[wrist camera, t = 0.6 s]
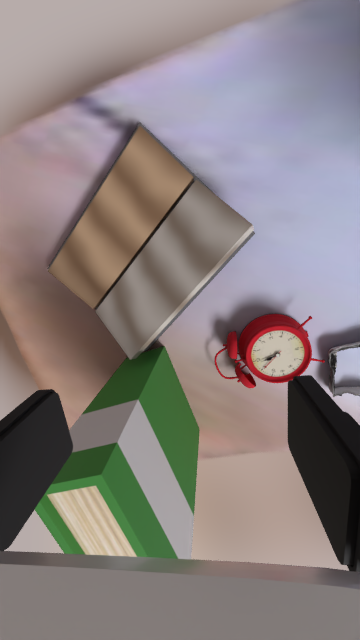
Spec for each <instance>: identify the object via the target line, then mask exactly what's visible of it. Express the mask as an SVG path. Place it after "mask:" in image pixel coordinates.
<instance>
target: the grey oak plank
mask: <svg viewBox="0 0 360 640" xmlns="http://www.w3.org/2000/svg"><path fill="white" fill-rule="evenodd" d="M253 230H254V227H253V225H252V224H251V223H250V222H248V221H247V220H246V219H245V218H244V217H242V216H241V215H240V214H239V213H237V212H236V211H235V210H234V209H232V208H231V207H230V206H229V205H227V204H226V203H225V202H224V201H222V200H221V199H220V198H219V197H218V196H216V195H215V194H214V193H213V192H211V191H210V190H209V189H208V188H206V187H205V186H204V185H203V184H201V183H200V182H199V181H198V180H195V182H194V183H193V184H192V186H191V187H190V188H189V190H188V191H187V192H186V194H185V195H184V196H183V197H182V199H181V200H180V201H179V203H178V204H177V205H176V207H175V208H174V209H173V211H172V212H171V213H170V214H169V216H168V217H167V218H166V220H165V221H164V222H163V224H162V225H161V226H160V228H159V229H158V230H157V231H156V233H155V234H154V235H153V237H152V238H151V239H150V241H149V242H148V243H147V245H146V246H145V247H144V249H143V250H142V251H141V252H140V254H139V255H138V256H137V258H136V259H135V260H134V262H133V263H132V264H131V266H130V267H129V268H128V269H127V271H126V272H125V273H124V275H123V276H122V277H121V279H120V280H119V281H118V283H117V284H116V285H115V286H114V288H113V289H112V290H111V292H110V293H109V294H108V296H107V297H106V298H105V300H104V301H103V302H102V303H101V305H100V306H99V307H98V309H97V310H96V311H95V312H96V313H97V315H98V316H99V318H100V319H101V320H102V322H103V323H104V324H105V326H106V327H107V329H108V330H109V331H110V333H111V334H112V335H113V337H114V338H115V340H116V341H117V342H118V344H119V345H120V346H121V348H122V349H123V351H124V352H125V353H126V355H127V356H128V357H129V359H130V360H132V359H136V358H137V357H138V356H139V355H140V354H141V353H142V352H143V351H144V350H145V349H146V348H147V346H148V345H149V344H150V343H151V342H152V341H153V340H154V339H155V338H156V337H157V335H158V334H159V333H160V332H161V331H162V330H163V329H164V328H165V327H166V326H167V325H168V323H169V322H170V321H171V320H172V319H173V318H174V317H175V316H176V315H177V314H178V312H179V311H180V310H181V309H182V308H183V307H184V306H185V305H186V304H187V303H188V302H189V300H190V299H191V298H192V297H193V296H194V295H195V294H196V293H197V292H198V291H199V290H200V288H201V287H202V286H203V285H204V284H205V283H206V282H207V281H208V280H209V279H210V277H211V276H212V275H213V274H214V273H215V272H216V271H217V270H218V269H219V268H220V267H221V265H222V264H223V263H224V262H225V261H226V260H227V259H228V258H229V257H230V256H231V254H232V253H233V252H234V251H235V250H236V249H237V248H238V247H239V246H240V245H241V244H242V242H243V241H244V240H245V239H246V238H247V237H248V236H249V235H250V234H251V233H252V231H253Z"/></svg>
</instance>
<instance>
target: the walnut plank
mask: <svg viewBox="0 0 360 640" xmlns="http://www.w3.org/2000/svg"><path fill="white" fill-rule="evenodd" d="M193 181H194V178H193V176H192V175H191V174H190V173H189V172H188V171H187V170H186V169H185V168H184V167H183V166H182V165H181V164H179V163H178V162H177V161H176V160H175V159H174V158H173V157H172V156H171V155H170V154H169V153H168V152H167V151H166V150H165V149H164V148H163V147H162V146H161V145H160V144H159V143H158V142H157V141H156V140H155V139H153V138H152V137H151V136H150V135H149V134H148V133H147V132H146V131H145V130H144V129H143V128H142V127H141V126H139V128H138V130H137V131H136V133H135V134H134V136H133V137H132V139H131V141H130V142H129V144H128V145H127V147H126V149H125V150H124V152H123V153H122V155H121V156H120V158H119V160H118V161H117V163H116V164H115V166H114V167H113V169H112V171H111V172H110V174H109V175H108V177H107V178H106V180H105V182H104V183H103V185H102V186H101V188H100V189H99V191H98V193H97V194H96V196H95V197H94V199H93V201H92V202H91V204H90V205H89V207H88V208H87V210H86V212H85V213H84V215H83V216H82V218H81V219H80V221H79V223H78V224H77V226H76V227H75V229H74V230H73V232H72V234H71V235H70V237H69V238H68V240H67V241H66V243H65V245H64V246H63V248H62V249H61V251H60V253H59V254H58V256H57V257H56V259H55V260H54V262H53V264H52V265H51V267H50V268H49V270H48V272H49V273H51V274H52V275H53V276H54V277H55V278H57V279H58V280H59V281H60V282H61V283H62V284H64V285H65V286H66V287H67V288H68V289H70V290H71V291H72V292H73V293H74V294H76V295H77V296H78V297H79V298H80V299H81V300H83V301H84V302H85V303H86V304H87V305H89V306H90V307H91V308H92V309H94V308H96V307H98V305H99V304H100V303H101V302H102V300H103V299H104V298H105V296H106V295H107V294H108V292H109V291H110V290H111V288H112V287H113V286H114V284H115V283H116V282H117V281H118V279H119V278H120V277H121V275H122V274H123V273H124V271H125V270H126V269H127V267H128V266H129V265H130V264H131V262H132V261H133V260H134V258H135V257H136V256H137V254H138V253H139V252H140V250H141V249H142V248H143V246H144V245H145V244H146V243H147V241H148V240H149V239H150V237H151V236H152V235H153V233H154V232H155V231H156V229H157V228H158V227H159V225H160V224H161V223H162V222H163V220H164V219H165V218H166V216H167V215H168V214H169V212H170V211H171V210H172V208H173V207H174V206H175V204H176V203H177V202H178V201H179V199H180V198H181V197H182V195H183V194H184V193H185V191H186V190H187V189H188V187H189V186H190V185H191V183H192V182H193Z"/></svg>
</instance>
